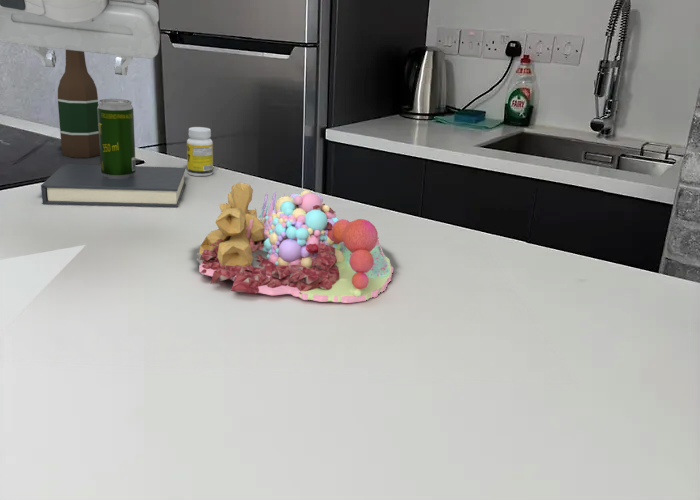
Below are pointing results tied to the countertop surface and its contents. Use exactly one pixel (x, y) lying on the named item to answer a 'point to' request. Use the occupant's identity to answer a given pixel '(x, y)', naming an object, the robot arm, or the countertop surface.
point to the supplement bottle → (199, 152)
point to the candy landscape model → (294, 250)
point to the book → (114, 187)
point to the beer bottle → (78, 109)
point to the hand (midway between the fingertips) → (86, 67)
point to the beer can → (116, 138)
